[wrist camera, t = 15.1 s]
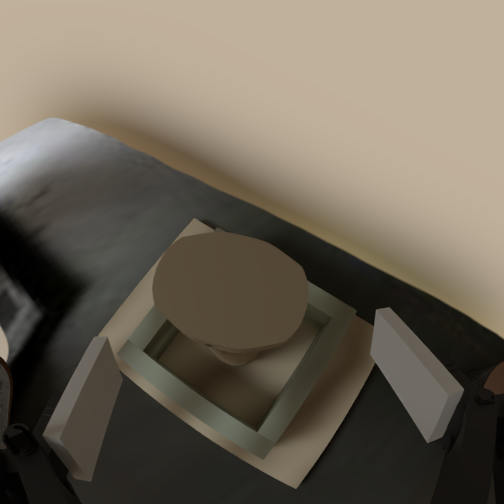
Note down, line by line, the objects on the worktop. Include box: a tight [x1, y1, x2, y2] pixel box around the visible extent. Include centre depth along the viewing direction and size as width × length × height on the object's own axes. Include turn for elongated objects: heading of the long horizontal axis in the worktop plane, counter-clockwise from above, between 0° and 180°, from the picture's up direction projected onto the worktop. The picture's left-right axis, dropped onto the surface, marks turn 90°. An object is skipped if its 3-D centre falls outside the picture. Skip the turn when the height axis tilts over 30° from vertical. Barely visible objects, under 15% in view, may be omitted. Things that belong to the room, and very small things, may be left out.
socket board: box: [98, 218, 375, 489], centre depth 25 cm, size 22×16×6 cm
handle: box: [152, 232, 308, 366], centre depth 20 cm, size 5×6×15 cm
